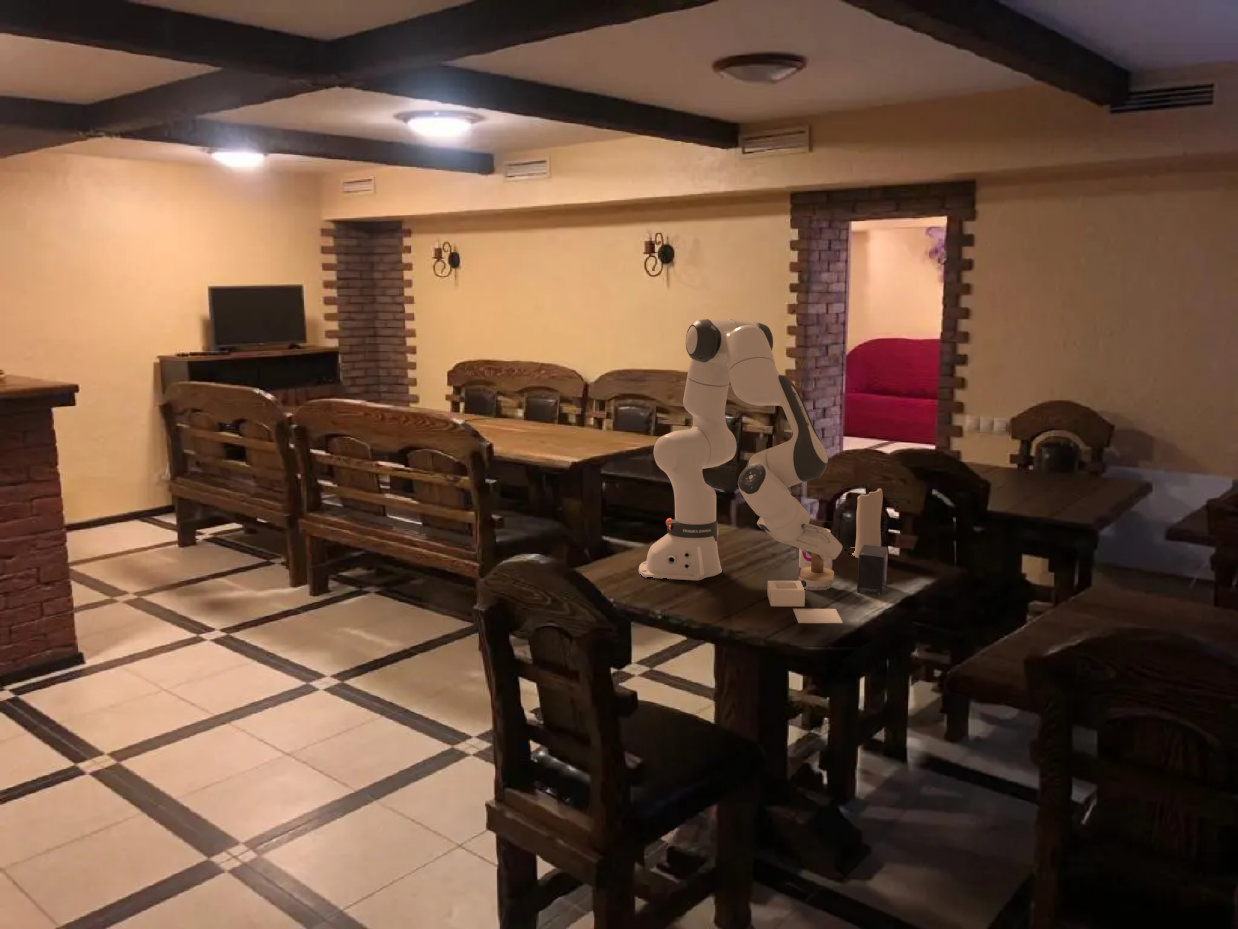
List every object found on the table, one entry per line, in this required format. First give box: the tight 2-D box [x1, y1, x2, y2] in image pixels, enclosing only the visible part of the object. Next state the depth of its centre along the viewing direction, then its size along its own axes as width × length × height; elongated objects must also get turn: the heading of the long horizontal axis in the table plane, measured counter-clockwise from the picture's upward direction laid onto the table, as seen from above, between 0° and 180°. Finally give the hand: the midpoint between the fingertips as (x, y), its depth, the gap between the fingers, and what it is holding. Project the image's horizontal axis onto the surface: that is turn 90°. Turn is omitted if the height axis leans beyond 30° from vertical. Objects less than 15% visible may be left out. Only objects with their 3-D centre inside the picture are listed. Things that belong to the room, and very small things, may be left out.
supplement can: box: [798, 527, 833, 591], centre depth 252 cm, size 8×8×15 cm
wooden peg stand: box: [800, 553, 835, 581], centre depth 227 cm, size 8×8×8 cm
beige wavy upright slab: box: [851, 487, 884, 559], centre depth 283 cm, size 7×14×20 cm, turn 19°
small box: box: [856, 545, 888, 595], centre depth 249 cm, size 11×6×10 cm, turn 160°
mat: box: [792, 608, 844, 624], centre depth 229 cm, size 10×10×1 cm
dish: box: [767, 580, 806, 607], centre depth 240 cm, size 8×8×4 cm
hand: (819, 556), depth 227 cm, fingers closed on wooden peg stand, 3 cm apart
